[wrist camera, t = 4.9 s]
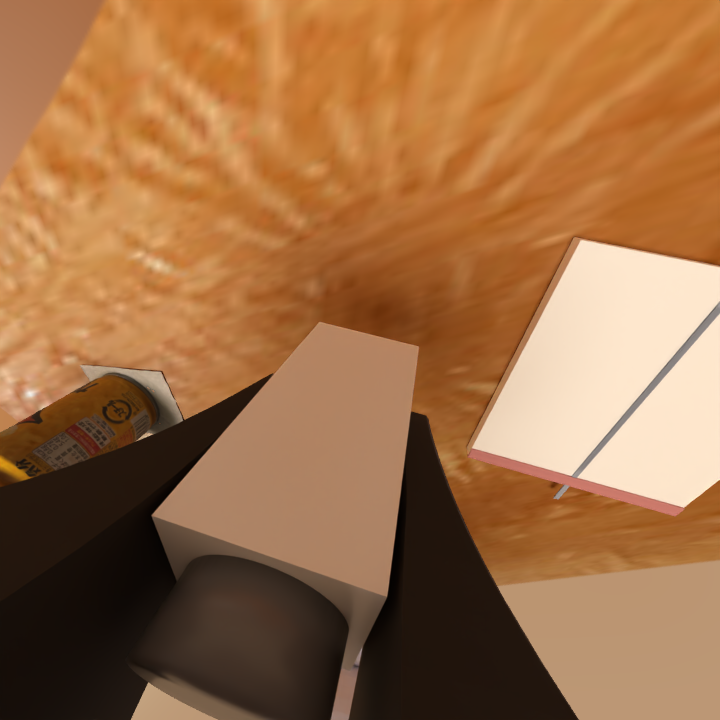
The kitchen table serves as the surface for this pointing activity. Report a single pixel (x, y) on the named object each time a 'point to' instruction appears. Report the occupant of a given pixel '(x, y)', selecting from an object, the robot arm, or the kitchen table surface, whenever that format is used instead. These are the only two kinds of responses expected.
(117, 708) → the robot arm
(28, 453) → the condiment
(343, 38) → the kitchen table surface
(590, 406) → the notepad
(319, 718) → the white bottle
